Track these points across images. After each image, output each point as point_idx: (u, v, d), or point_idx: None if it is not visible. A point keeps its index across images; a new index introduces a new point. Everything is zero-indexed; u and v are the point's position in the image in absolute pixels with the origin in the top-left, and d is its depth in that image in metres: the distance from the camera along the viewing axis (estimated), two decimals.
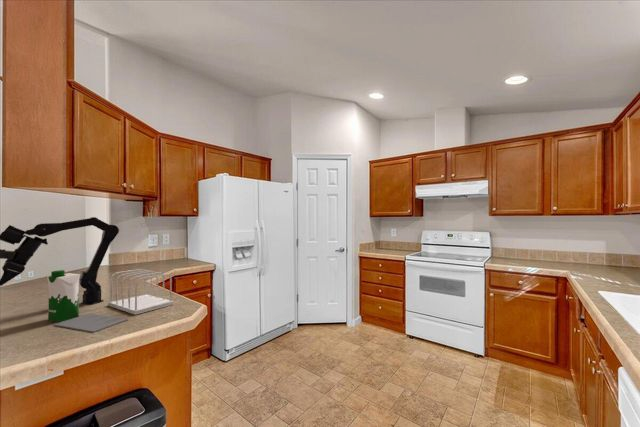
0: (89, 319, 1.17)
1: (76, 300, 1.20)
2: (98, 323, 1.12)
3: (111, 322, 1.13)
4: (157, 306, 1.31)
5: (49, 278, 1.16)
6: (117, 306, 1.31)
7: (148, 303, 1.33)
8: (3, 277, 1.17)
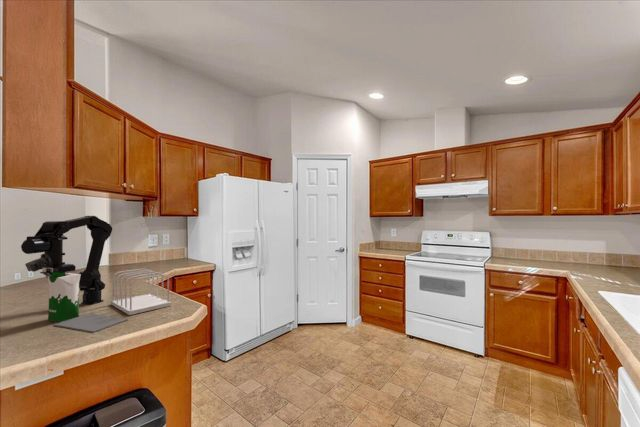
0: (89, 319, 1.17)
1: (76, 300, 1.20)
2: (98, 323, 1.12)
3: (111, 322, 1.13)
4: (153, 307, 1.29)
5: (50, 278, 1.16)
6: (117, 305, 1.32)
7: (146, 303, 1.33)
8: None
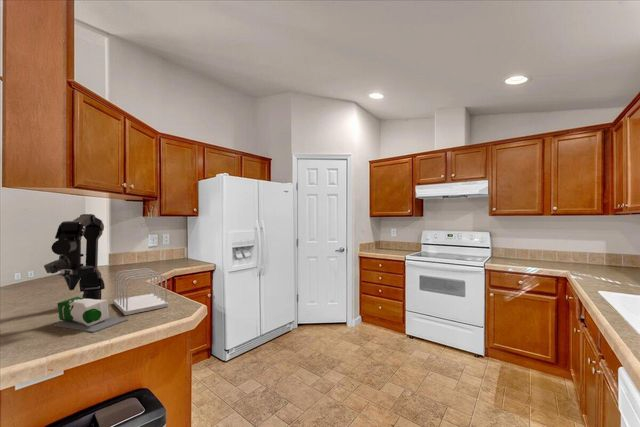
0: None
1: None
2: (98, 323, 1.12)
3: (111, 322, 1.13)
4: (150, 307, 1.29)
5: (85, 313, 1.08)
6: (117, 305, 1.33)
7: (144, 303, 1.33)
8: (72, 282, 1.17)
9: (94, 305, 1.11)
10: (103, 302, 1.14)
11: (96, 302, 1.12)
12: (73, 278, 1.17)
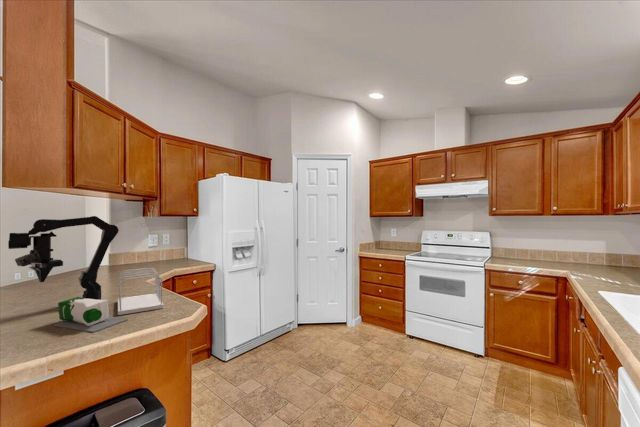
0: None
1: None
2: (98, 323, 1.12)
3: (111, 322, 1.13)
4: (144, 308, 1.28)
5: (85, 312, 1.08)
6: None
7: (141, 304, 1.32)
8: (42, 275, 1.28)
9: (95, 305, 1.11)
10: (104, 302, 1.14)
11: (97, 302, 1.12)
12: (43, 271, 1.28)
